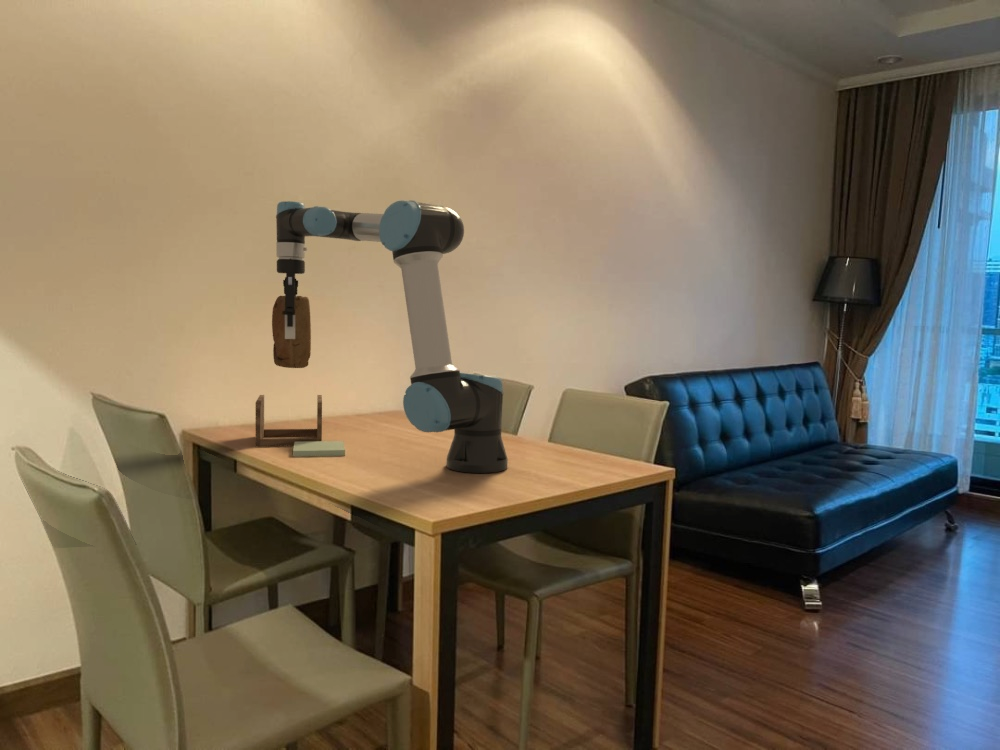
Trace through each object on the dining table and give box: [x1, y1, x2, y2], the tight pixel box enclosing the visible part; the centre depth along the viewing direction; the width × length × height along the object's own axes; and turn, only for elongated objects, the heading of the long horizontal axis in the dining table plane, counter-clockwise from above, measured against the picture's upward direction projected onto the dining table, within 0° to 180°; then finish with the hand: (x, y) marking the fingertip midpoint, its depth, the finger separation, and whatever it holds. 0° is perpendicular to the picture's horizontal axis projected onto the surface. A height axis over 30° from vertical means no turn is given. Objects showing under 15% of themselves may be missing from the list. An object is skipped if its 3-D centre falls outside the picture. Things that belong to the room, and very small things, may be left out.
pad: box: [292, 440, 346, 458], centre depth 206 cm, size 13×13×2 cm
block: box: [271, 295, 312, 369], centre depth 217 cm, size 11×8×20 cm
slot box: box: [255, 394, 323, 448], centre depth 219 cm, size 16×17×12 cm
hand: (290, 337), depth 217 cm, fingers closed on block, 11 cm apart
